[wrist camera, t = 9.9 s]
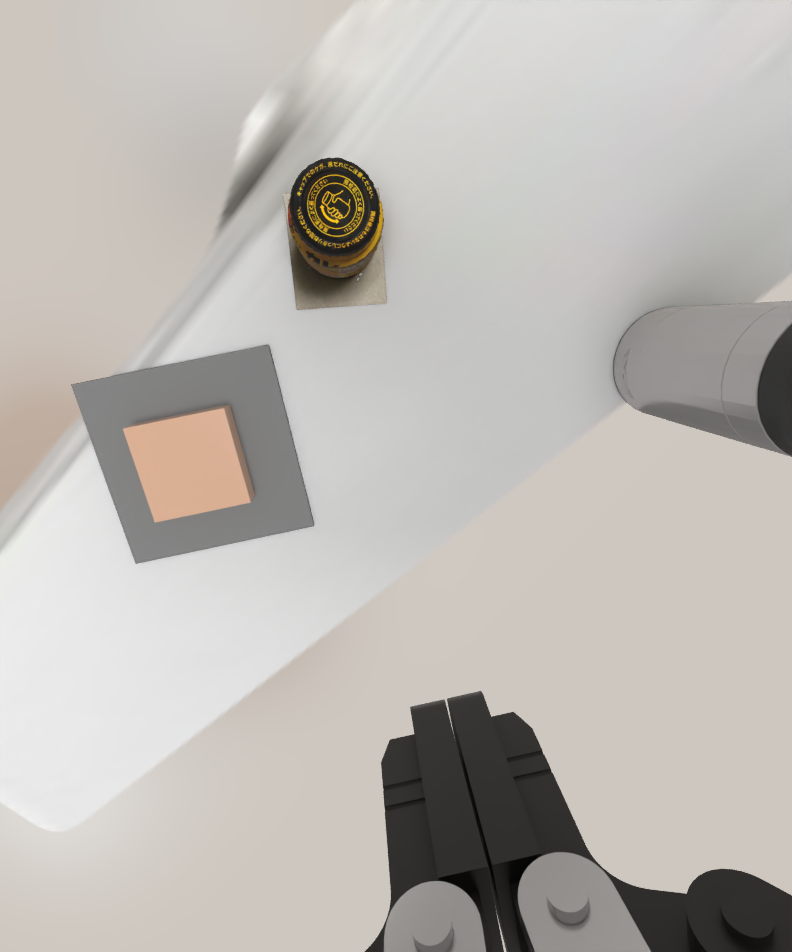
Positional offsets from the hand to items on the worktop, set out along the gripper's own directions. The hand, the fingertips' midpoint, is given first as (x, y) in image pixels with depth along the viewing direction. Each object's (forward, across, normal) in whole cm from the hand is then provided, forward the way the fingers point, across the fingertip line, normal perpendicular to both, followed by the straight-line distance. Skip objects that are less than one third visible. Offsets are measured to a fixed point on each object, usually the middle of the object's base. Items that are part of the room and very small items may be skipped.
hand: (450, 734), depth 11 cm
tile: (+35, +11, 0) cm, 37 cm away
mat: (+37, +15, 0) cm, 40 cm away
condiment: (+37, 0, -14) cm, 40 cm away
